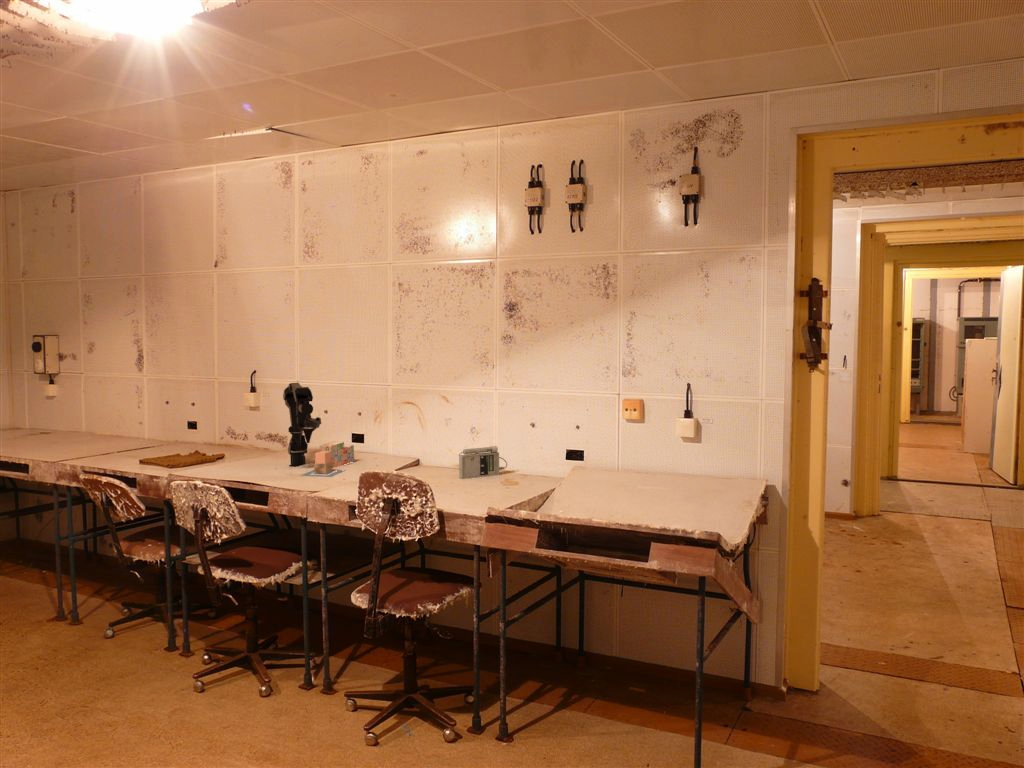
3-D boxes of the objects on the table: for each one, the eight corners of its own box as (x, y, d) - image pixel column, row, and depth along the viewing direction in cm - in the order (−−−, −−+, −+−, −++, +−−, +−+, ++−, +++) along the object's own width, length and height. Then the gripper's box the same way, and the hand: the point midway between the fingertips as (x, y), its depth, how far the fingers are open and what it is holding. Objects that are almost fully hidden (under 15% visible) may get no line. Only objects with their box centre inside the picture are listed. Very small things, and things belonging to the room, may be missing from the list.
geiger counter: (461, 449, 364) (510, 445, 375) (456, 447, 369) (504, 443, 381) (462, 479, 365) (510, 474, 376) (456, 477, 370) (504, 472, 382)
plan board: (299, 476, 373) (299, 475, 373) (315, 470, 388) (315, 469, 388) (331, 478, 369) (331, 476, 369) (345, 471, 385) (345, 470, 385)
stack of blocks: (344, 462, 411) (343, 438, 410) (354, 462, 409) (354, 439, 408) (320, 469, 391) (319, 444, 390) (330, 470, 389) (330, 445, 388)
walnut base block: (314, 473, 377) (314, 463, 376) (320, 471, 382) (320, 461, 382) (326, 474, 375) (325, 464, 375) (331, 472, 381) (331, 461, 381)
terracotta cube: (315, 463, 377) (315, 453, 376) (320, 461, 381) (320, 451, 381) (325, 463, 375) (324, 453, 375) (330, 461, 380) (329, 451, 380)
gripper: (308, 415, 374) (309, 448, 376) (326, 410, 392) (327, 442, 394) (287, 415, 377) (288, 447, 378) (306, 410, 395) (307, 441, 396)
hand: (303, 444), depth 387 cm, fingers open, 9 cm apart
